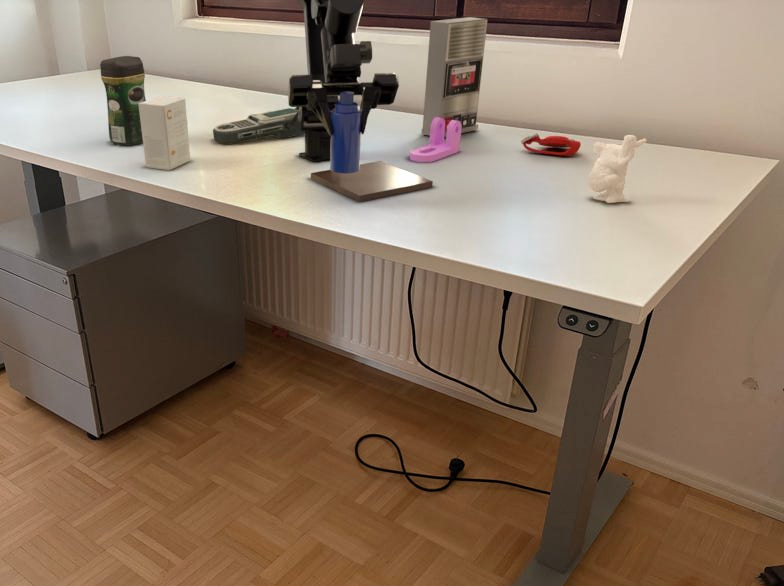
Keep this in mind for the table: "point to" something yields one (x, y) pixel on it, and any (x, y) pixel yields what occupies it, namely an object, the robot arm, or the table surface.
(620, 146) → the white crouching figurine
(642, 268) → the table surface
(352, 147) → the blue bottle
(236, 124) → the communication device
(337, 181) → the walnut board
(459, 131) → the bracket
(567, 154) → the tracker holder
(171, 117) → the small box
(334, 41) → the robot arm
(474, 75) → the cassette tape recorder
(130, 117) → the coffee jar
